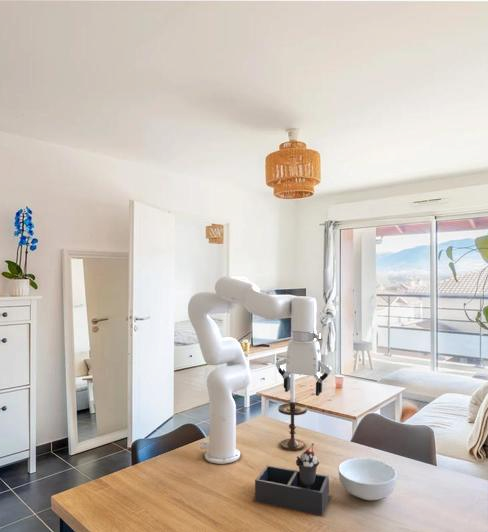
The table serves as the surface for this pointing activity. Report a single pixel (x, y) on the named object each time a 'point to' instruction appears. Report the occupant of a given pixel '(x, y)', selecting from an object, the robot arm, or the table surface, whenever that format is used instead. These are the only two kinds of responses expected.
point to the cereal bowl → (367, 478)
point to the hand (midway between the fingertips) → (302, 392)
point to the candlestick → (292, 418)
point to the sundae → (307, 467)
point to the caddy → (291, 490)
